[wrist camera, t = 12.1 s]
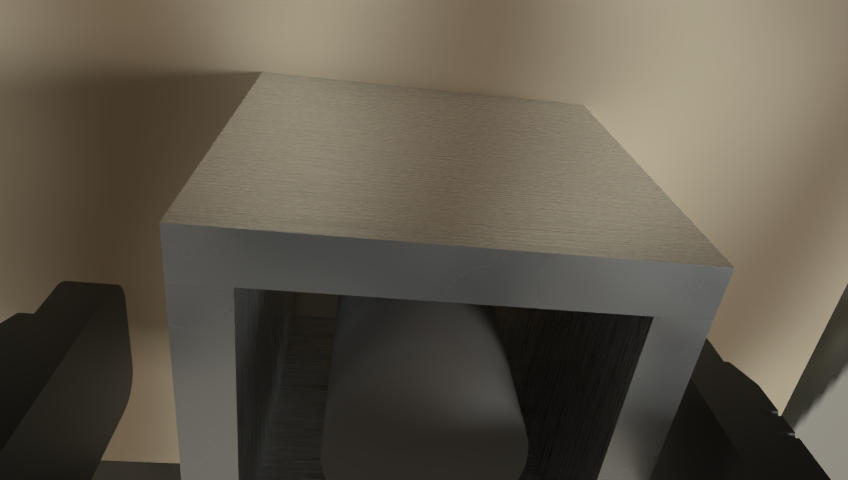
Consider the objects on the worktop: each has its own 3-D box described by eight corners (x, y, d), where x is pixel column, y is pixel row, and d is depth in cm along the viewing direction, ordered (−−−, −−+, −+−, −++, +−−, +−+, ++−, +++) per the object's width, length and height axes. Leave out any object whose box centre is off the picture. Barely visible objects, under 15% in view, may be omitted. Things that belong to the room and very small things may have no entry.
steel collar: (262, 338, 14) (191, 596, 9) (262, 72, 12) (159, 222, 6) (523, 355, 15) (598, 606, 10) (584, 105, 12) (734, 267, 7)
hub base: (12, 397, 17) (-242, 742, 10) (-143, -236, 11) (-1136, -477, 4) (713, 431, 19) (899, 740, 12) (941, -85, 13) (1620, -56, 6)
